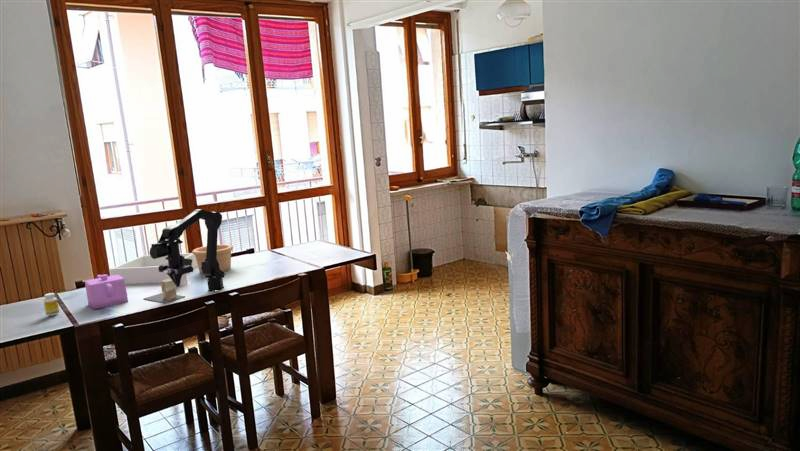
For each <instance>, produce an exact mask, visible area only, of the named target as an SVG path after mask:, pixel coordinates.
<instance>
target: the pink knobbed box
mask: <svg viewBox="0 0 800 451" xmlns="http://www.w3.org/2000/svg"><path fill="white" fill-rule="evenodd" d="M84 285H85V290H86V298H87V304H88V305H89V307H91V308H92V310H97V309H103V308H106V307H110V306H115V305H119V304H122V303H124V304H125V303H128V302H129V299H128V293H127V284H125V279H124V278H123V277H121V276H120V275H113V276H111V275H108V274H97V277H96V278H92V279H88V280H84Z"/></svg>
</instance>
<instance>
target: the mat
mask: <svg viewBox="0 0 800 451" xmlns="http://www.w3.org/2000/svg"><path fill="white" fill-rule="evenodd" d="M176 295H177V298H175V299H171V300H164V299H163V295H162V292H160V293H159V294H155V295H151V296H147V297H144V298H143V300H144V301H150V302H156V303H160V304H167V303H171V302H174V301H177V300H180V299H184V298H186V296H185V295H179V294H176Z"/></svg>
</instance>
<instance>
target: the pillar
mask: <svg viewBox="0 0 800 451" xmlns="http://www.w3.org/2000/svg"><path fill="white" fill-rule="evenodd" d="M160 286H161V287H160V288H161V293H162V295H163V299H164V300H171V299H175V298H177V295H178V294H177V289H176V288H177V287H175V284H174V282H173V281H172V279H167V280H163V281H161V282H160Z"/></svg>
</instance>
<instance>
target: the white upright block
mask: <svg viewBox="0 0 800 451" xmlns="http://www.w3.org/2000/svg"><path fill="white" fill-rule="evenodd" d="M182 267H183V266H182ZM167 271H168V270H167ZM168 278H169V279H171V278H170V277H169V276H168ZM186 284H188V279H187V273H186V274H183V275H182V277H181V282H180V286H179V287H181V286H182V285H183V286H185V285H186ZM175 287H176V285H175ZM176 288H177V287H176Z"/></svg>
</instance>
